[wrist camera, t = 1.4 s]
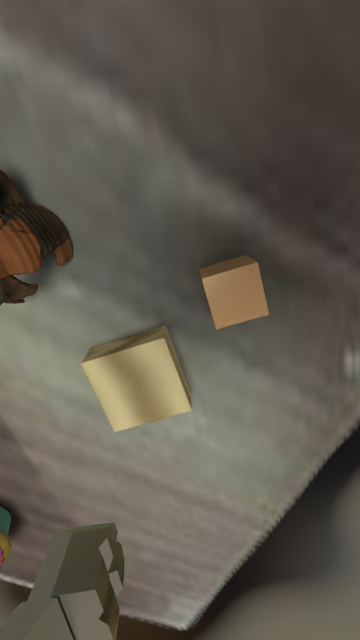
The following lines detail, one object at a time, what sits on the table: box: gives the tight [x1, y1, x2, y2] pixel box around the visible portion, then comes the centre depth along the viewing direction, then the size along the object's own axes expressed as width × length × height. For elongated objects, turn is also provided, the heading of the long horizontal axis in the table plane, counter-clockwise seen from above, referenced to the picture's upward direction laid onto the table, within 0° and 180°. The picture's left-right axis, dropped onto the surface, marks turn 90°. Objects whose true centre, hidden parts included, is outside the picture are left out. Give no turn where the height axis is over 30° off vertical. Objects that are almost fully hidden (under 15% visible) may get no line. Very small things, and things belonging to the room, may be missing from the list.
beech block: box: [81, 325, 192, 432], centre depth 33 cm, size 9×9×4 cm
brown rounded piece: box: [0, 170, 73, 305], centre depth 27 cm, size 12×10×8 cm
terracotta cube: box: [199, 255, 269, 329], centre depth 29 cm, size 5×5×5 cm
